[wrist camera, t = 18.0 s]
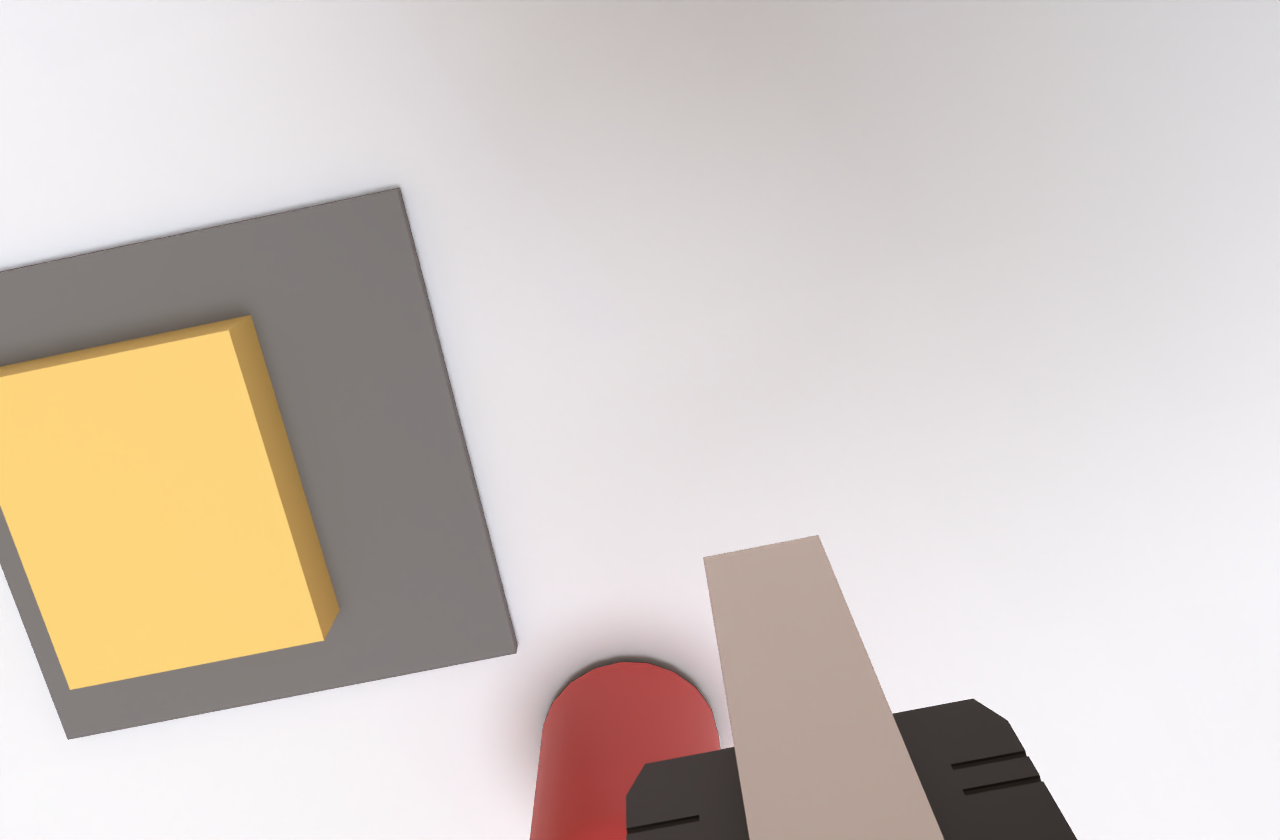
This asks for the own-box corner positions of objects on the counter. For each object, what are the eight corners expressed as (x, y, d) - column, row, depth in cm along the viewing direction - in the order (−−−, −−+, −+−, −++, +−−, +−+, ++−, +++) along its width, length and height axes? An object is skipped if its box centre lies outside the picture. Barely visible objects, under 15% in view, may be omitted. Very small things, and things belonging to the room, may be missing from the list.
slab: (250, 314, 41) (-8, 368, 41) (228, 330, 38) (-45, 386, 39) (339, 610, 44) (98, 657, 44) (323, 640, 41) (70, 689, 42)
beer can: (636, 620, 45) (642, 814, 33) (752, 737, 46) (796, 962, 35) (506, 727, 46) (468, 951, 34) (623, 838, 47) (624, 1088, 36)
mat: (-93, 291, 41) (-103, 294, 40) (399, 187, 40) (396, 189, 40) (74, 731, 46) (68, 739, 45) (517, 645, 45) (516, 653, 44)
